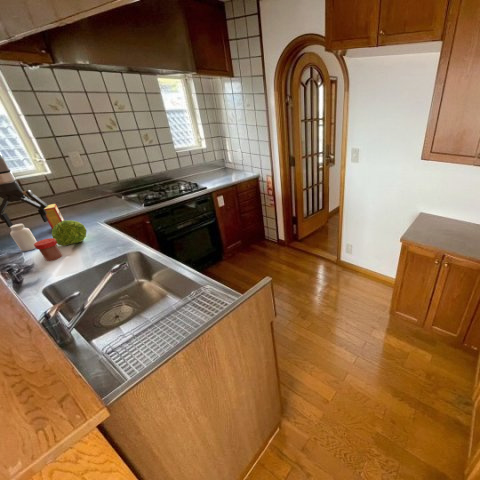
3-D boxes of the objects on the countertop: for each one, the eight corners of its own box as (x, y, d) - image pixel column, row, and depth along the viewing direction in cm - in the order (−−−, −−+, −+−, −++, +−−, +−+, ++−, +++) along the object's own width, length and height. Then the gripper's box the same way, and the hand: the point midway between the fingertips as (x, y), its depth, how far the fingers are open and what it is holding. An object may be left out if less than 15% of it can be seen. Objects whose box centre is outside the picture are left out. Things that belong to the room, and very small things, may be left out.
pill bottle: (36, 244, 161) (22, 221, 154) (42, 246, 158) (28, 223, 151) (18, 249, 155) (3, 227, 148) (24, 252, 152) (9, 229, 145)
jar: (44, 265, 138) (33, 247, 133) (50, 259, 144) (39, 241, 139) (61, 262, 141) (51, 244, 136) (66, 256, 147) (56, 238, 142)
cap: (59, 240, 143) (57, 236, 142) (53, 247, 136) (51, 243, 135) (40, 243, 140) (38, 240, 139) (33, 250, 133) (30, 246, 132)
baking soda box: (54, 226, 184) (42, 205, 176) (66, 224, 187) (55, 203, 180) (53, 231, 177) (40, 209, 170) (65, 228, 181) (54, 206, 173)
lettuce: (61, 245, 167) (93, 239, 176) (51, 248, 147) (87, 242, 155) (54, 222, 164) (87, 217, 173) (42, 222, 144) (80, 218, 153)
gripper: (-39, 187, 115) (-10, 231, 125) (35, 180, 124) (57, 221, 134) (-28, 183, 121) (-1, 225, 131) (42, 177, 130) (62, 216, 140)
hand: (29, 223), depth 132 cm, fingers open, 13 cm apart
